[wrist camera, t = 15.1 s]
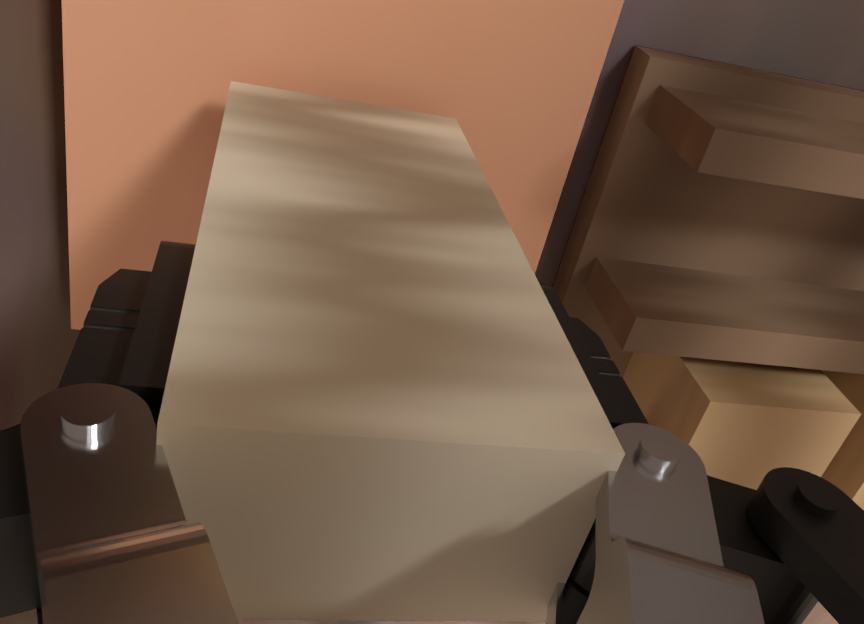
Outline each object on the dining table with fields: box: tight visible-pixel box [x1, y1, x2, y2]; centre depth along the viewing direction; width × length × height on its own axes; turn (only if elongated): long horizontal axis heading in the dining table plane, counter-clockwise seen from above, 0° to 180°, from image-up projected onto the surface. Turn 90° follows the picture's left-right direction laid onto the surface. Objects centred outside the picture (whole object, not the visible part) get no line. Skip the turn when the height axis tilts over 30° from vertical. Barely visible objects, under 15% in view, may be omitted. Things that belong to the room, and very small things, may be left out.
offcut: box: [623, 352, 861, 490], centre depth 23 cm, size 4×4×4 cm
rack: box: [552, 45, 864, 377], centre depth 23 cm, size 16×13×4 cm
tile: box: [62, 0, 624, 330], centre depth 19 cm, size 12×12×1 cm
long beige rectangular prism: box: [156, 81, 625, 622], centre depth 13 cm, size 5×3×11 cm, turn 78°
